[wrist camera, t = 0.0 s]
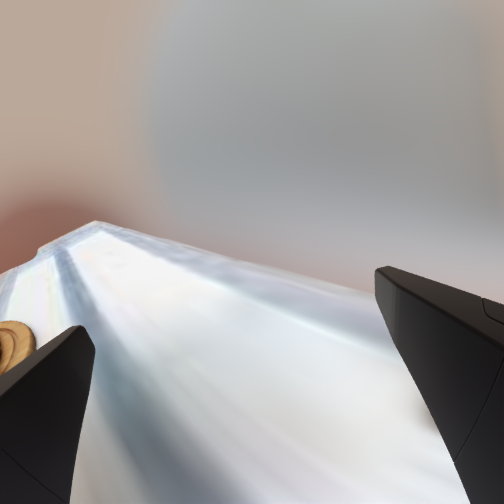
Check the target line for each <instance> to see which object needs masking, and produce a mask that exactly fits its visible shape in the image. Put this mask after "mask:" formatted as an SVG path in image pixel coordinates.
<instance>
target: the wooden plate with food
mask: <svg viewBox="0 0 504 504" xmlns="http://www.w3.org/2000/svg"><path fill="white" fill-rule="evenodd" d="M34 352H35V337H34V334H33V332H32V331H31V329H30V328H29V327H28V326H27V325H25V324H24V323H21V322H18V321H3V322H0V376H1V375H3V374H4V373H5V372H7V371H8V370H10V369H11V368H12V367H14V366H15V365H17V364H18V363H19V362H21V361H22V360H24V359H25V358H27V357H28V356H29V355H31V354H32V353H34Z"/></svg>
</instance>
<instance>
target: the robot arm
mask: <svg viewBox="0 0 504 504" xmlns="http://www.w3.org/2000/svg"><path fill="white" fill-rule="evenodd" d="M375 297H376V301H377V304H378V306H379V308H380V311H381V313H382V316H383V318H384V320H385V323H386V325H387V328H388V330H389V333H390V335H391V337H392V340H393V342H394V344H395V346H396V348H397V350H398V351H399V353H400V355H401V357H402V359H403V361H404V363H405V364H406V366H407V368H408V370H409V372H410V374H411V376H412V378H413V380H414V381H415V383H416V385H417V387H418V389H419V391H420V393H421V395H422V397H423V399H424V401H425V403H426V405H427V407H428V409H429V411H430V413H431V415H432V417H433V419H434V421H435V423H436V425H437V428H438V430H439V432H440V434H441V436H442V438H443V440H444V443H445V445H446V447H447V449H448V451H449V454H450V456H451V458H452V460H453V462H454V465H455V468H456V470H457V472H458V474H459V477H460V479H461V482H462V484H463V486H464V489H465V491H466V494H467V496H468V499H469V501H470V504H504V305H503V304H499V303H497V302H494V301H491V300H489V299H486V298H481V297H480V296H477V295H474V294H471V293H468V292H466V291H462V290H459V289H457V288H454V287H451V286H448V285H445V284H442V283H439V282H436V281H433V280H430V279H427V278H424V277H421V276H418V275H415V274H412V273H409V272H406V271H403V270H400V269H397V268H394V267H391V266H385V267H381V268H377V269H376V270H375ZM94 358H95V346H94V344H93V342H92V340H91V338H90V337H89V335H88V333H87V331H86V329H85V328H84V327H83V326H81V325H78V326H72V327H70V328H68V329H67V330H65V331H64V332H62V333H61V334H60V335H58V336H57V337H55V338H54V339H52V340H51V341H49V342H48V343H47V344H45V345H44V346H42V347H41V348H39V349H38V350H36V351H35V352H34V353H32V354H31V355H29V356H28V357H27V358H25V359H24V360H22V361H21V362H19V363H18V364H17V365H15V366H14V367H12V368H11V369H10V370H8V371H7V372H5V373H4V374H3V375H1V376H0V504H69V503H70V494H71V487H72V480H73V473H74V466H75V460H76V454H77V449H78V443H79V438H80V433H81V428H82V423H83V418H84V414H85V409H86V405H87V400H88V396H89V391H90V385H91V378H92V371H93V364H94Z"/></svg>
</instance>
